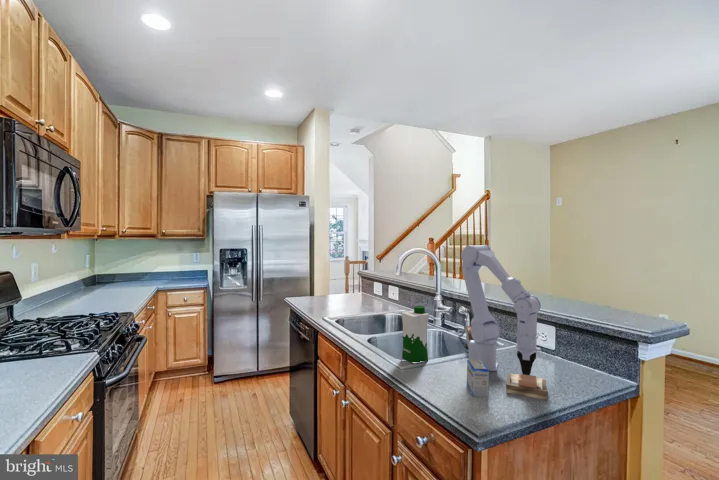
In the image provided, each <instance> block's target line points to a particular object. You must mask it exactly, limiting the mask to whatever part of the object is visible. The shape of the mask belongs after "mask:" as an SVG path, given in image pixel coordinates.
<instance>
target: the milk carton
mask: <svg viewBox="0 0 719 480" xmlns="http://www.w3.org/2000/svg"><path fill="white" fill-rule="evenodd" d="M413 309H414V310H413ZM413 309H412V310H406V311H402V312H401V313H400V314H401V319H402V320H401V321H402V354H401V358H402V359H403V360H404V361H406V362H408V363H410V362H420V361H425V362H428V361H429V355H428V353H429V352H428V322H429V319H430V313H428V312H426V309H425V306H423V305H414V306H413Z"/></svg>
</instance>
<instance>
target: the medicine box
mask: <svg viewBox="0 0 719 480" xmlns="http://www.w3.org/2000/svg"><path fill="white" fill-rule="evenodd" d="M489 374H490V370H488V368H487V367H486V366H485V365H484V364H483V362H482V361H481V360H478V359H469V358H468V359H467V360H466V386H467V388H468V389H469V391H470V393H471V395H472V397H474V398H488V397H489V383H490V381H489V379H490V375H489Z"/></svg>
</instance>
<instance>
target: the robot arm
mask: <svg viewBox="0 0 719 480" xmlns="http://www.w3.org/2000/svg"><path fill="white" fill-rule="evenodd" d="M460 257H461V260H462V264H461V271H462V275H463V278H464V279H463V280H464V283H465V286H466V291H467V294H468V298H469V299H468V300H469V301H470V302H469V303H470V306H471V310H472V313H473V317H472V319H471V322H470V326H471V335H472V338H473V339H474V340H470V342H469V350H468V359H478V360H481V361H482V362H483V364H484V365H485V366H486V367H487V368H488V370H489V372H490V371H491V372H497V370H498V367H499V363H498V362H497V342H498V338H500V336H501V333H502V330H501V327H500V325H499V324H498V322H497V320H496V317H494V316H493V315H492V314H491V313H490V310H489V307H488V303H487V299H486V295H485V292H484V288H483V284H482V282H481V278H480V274H479V272H480V269H481V268H482V267H483V266H484V267H486V268H488V270H489V271H490V272H491V273H492V274H493V275H494V277H495V278H497V279H498V281H500V283H501V290H502V291H504V294H506V296H507V297H508V298H509V299H510V301H511V302H512V303H513V309H514V311H515V312H516V318H517V321H516V322H517V330H516V331H517V332H516V333H517V334H516V335H517V336H516V349H517V352H516V356H517V359H518V360H519V363H520V364H519V365H520V369H521V374H524V375H531V372H532V368H533V365H534V362H535V360H536V359H537V352H541V347H537V343H538V342H537V337H538V336H537V335H538V333H537V332H538V331H537V330H538V329H537V328H538V312H539V311H540V310H541V309H542V307H541V302H540V300H539V298H538V297H537V296H535V295H532V294H531V293H530V291H527V289H526V288H525V287H524V286H523V284H522V282H521V280H520V279H517V278H516V277H511V276H510V275H509V273H508V272H507V270H506V269H505V268H504V267H503V265H502V263H500V261H499V260H498V258H497V257H496V255H495V252H494V251H493V250H492V249H491V247H490V246H489V245H488V244H482V245H480V244H479V245H478V244H477V245H470V244H469V245H466V246H465V247H463V250H462V252H461V253H460Z"/></svg>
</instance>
